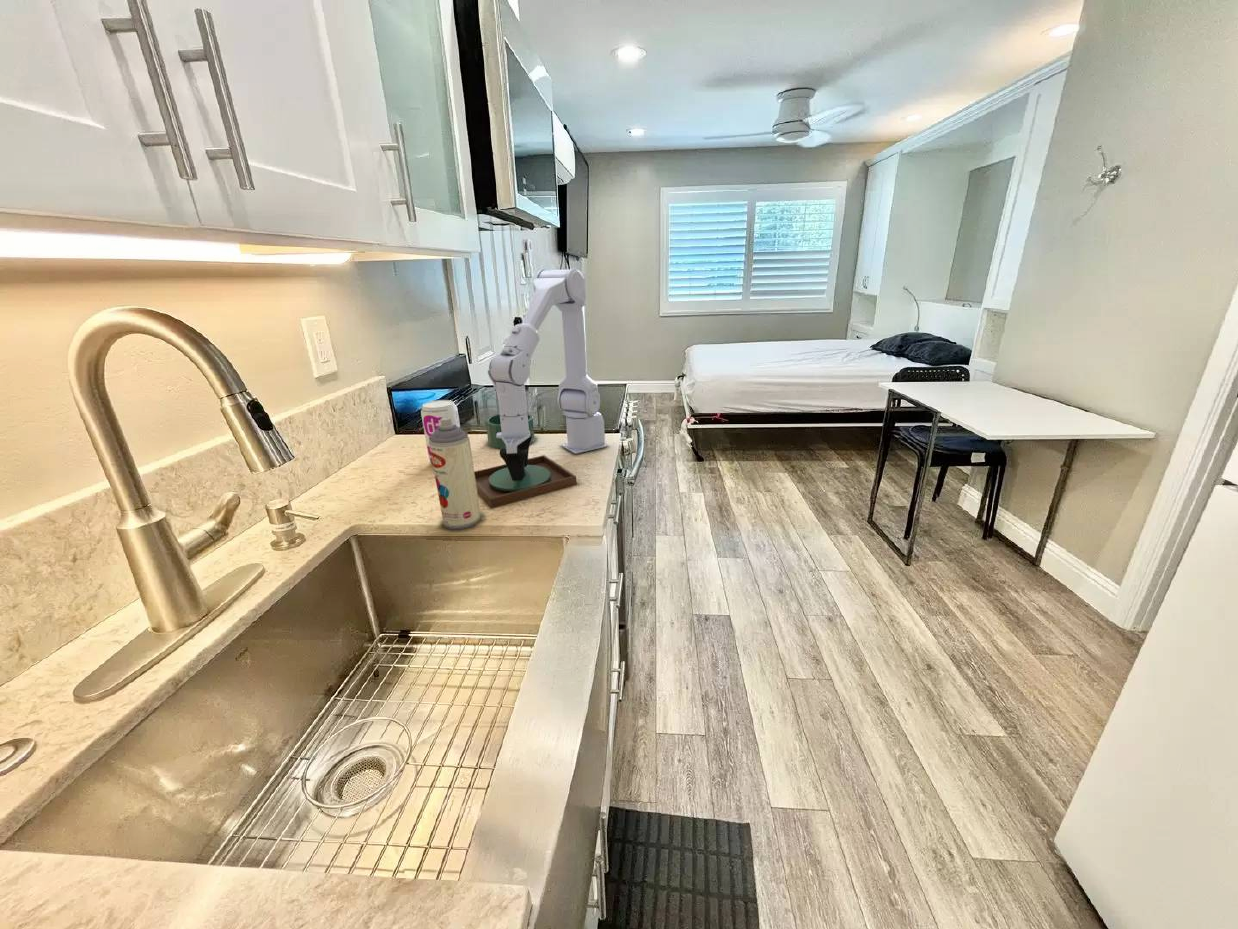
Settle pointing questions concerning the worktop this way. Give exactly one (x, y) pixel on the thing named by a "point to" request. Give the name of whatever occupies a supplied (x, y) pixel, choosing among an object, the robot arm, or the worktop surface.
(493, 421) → the tin
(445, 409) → the supplement can
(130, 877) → the worktop surface
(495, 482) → the tin lid
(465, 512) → the aerosol can
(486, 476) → the tray
